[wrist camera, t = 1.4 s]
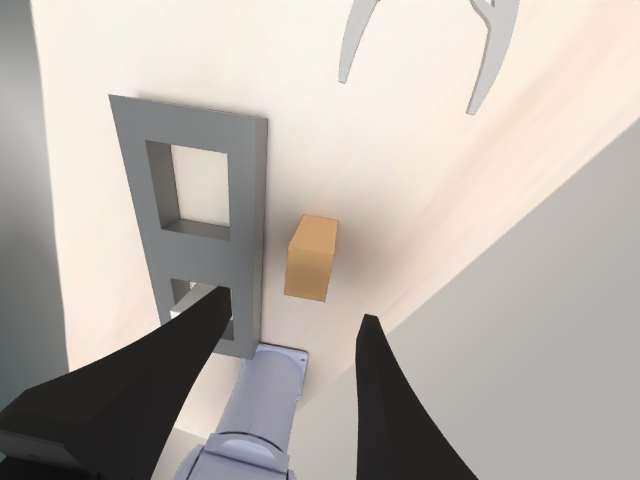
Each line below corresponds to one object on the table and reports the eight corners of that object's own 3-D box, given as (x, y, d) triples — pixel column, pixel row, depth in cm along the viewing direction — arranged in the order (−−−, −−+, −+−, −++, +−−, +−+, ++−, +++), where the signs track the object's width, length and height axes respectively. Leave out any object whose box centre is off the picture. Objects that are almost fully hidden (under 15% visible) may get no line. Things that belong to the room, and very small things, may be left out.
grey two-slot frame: (259, 341, 28) (252, 360, 26) (179, 326, 28) (165, 343, 26) (267, 118, 17) (255, 118, 15) (138, 98, 18) (108, 94, 15)
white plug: (230, 310, 26) (206, 348, 22) (205, 306, 27) (176, 342, 22) (229, 282, 25) (203, 317, 20) (202, 277, 25) (170, 310, 20)
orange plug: (330, 259, 22) (324, 302, 17) (299, 253, 22) (283, 294, 17) (337, 220, 20) (334, 254, 15) (303, 214, 20) (288, 246, 15)
